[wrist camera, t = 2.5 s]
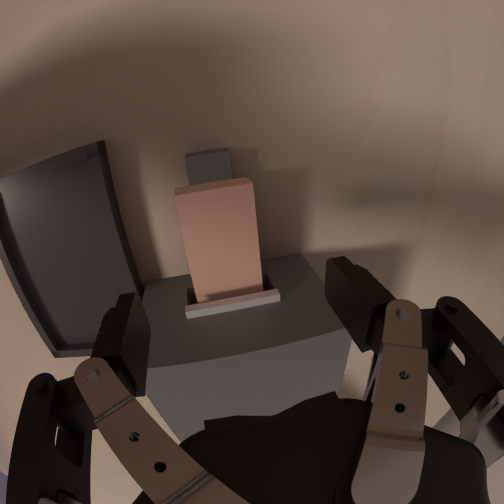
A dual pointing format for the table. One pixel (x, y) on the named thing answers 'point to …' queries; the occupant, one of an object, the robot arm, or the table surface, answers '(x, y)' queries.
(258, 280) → the pink block
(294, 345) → the dispenser
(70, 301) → the tray
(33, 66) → the table surface
